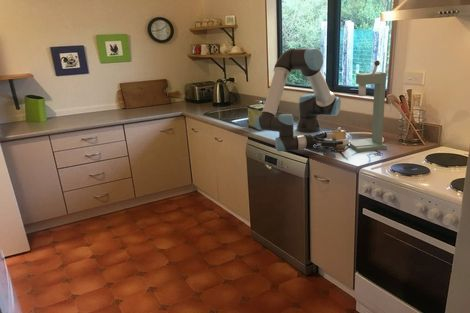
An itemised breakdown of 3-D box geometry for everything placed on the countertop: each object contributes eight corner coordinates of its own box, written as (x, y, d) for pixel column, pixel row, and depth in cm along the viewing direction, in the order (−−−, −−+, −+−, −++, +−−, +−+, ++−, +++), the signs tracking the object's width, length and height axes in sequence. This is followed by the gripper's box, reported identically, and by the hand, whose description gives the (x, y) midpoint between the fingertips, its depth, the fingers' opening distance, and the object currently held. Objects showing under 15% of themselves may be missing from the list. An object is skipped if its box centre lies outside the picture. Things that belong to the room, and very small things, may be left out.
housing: (330, 148, 203) (330, 126, 199) (342, 146, 203) (342, 125, 200) (334, 151, 196) (335, 129, 193) (347, 150, 197) (348, 128, 193)
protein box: (260, 131, 249) (259, 108, 244) (248, 127, 262) (247, 105, 257) (272, 128, 253) (272, 106, 249) (260, 124, 267) (259, 103, 262)
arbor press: (345, 144, 208) (347, 60, 194) (372, 141, 210) (376, 58, 195) (357, 152, 193) (360, 62, 179) (386, 149, 194) (392, 59, 180)
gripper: (298, 142, 209) (334, 139, 211) (311, 155, 186) (352, 151, 187) (298, 129, 207) (334, 126, 209) (311, 141, 183) (353, 137, 185)
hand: (343, 138), depth 198 cm, fingers open, 13 cm apart
